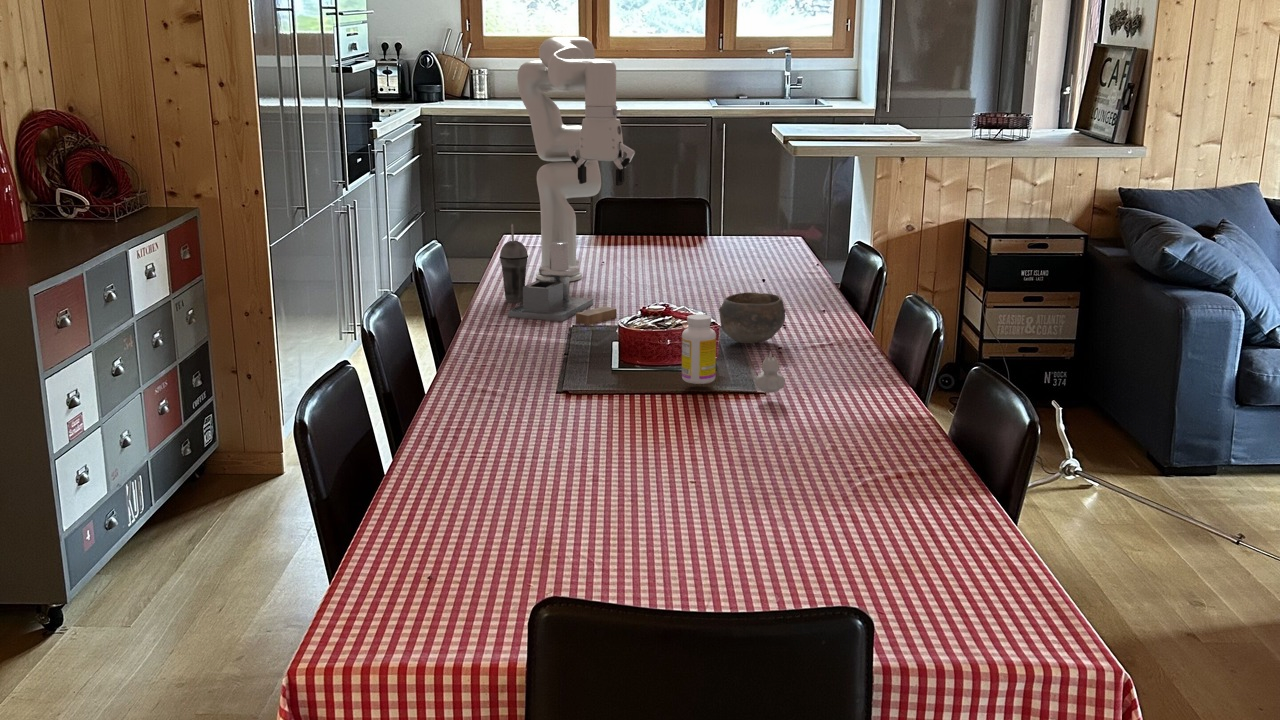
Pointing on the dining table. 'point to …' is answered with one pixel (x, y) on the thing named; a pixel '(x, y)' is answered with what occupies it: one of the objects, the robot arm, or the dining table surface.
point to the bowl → (752, 316)
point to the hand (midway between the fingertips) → (601, 184)
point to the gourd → (770, 376)
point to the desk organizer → (552, 290)
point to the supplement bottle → (698, 350)
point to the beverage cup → (513, 269)
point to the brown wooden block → (596, 315)
